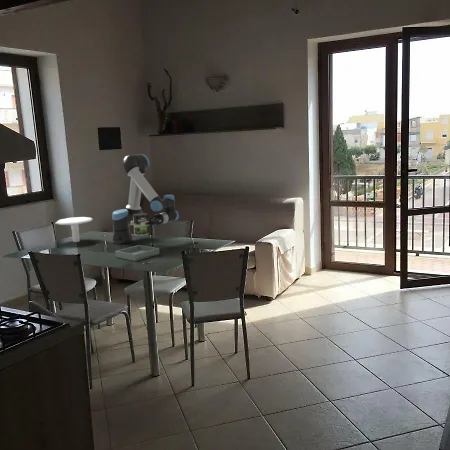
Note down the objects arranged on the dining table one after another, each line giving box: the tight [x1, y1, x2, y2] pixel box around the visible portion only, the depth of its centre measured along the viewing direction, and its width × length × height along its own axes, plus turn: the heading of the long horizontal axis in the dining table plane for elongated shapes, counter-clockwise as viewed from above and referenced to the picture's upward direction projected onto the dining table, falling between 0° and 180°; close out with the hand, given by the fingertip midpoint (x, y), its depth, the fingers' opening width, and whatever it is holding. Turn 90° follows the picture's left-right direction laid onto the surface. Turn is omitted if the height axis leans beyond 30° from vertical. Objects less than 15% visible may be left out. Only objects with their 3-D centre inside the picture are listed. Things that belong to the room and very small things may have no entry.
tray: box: [114, 244, 160, 262], centre depth 313 cm, size 20×20×4 cm
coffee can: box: [133, 212, 150, 237], centre depth 330 cm, size 10×10×14 cm
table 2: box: [54, 216, 94, 243], centre depth 367 cm, size 28×28×17 cm
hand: (136, 223), depth 327 cm, fingers closed on coffee can, 10 cm apart
